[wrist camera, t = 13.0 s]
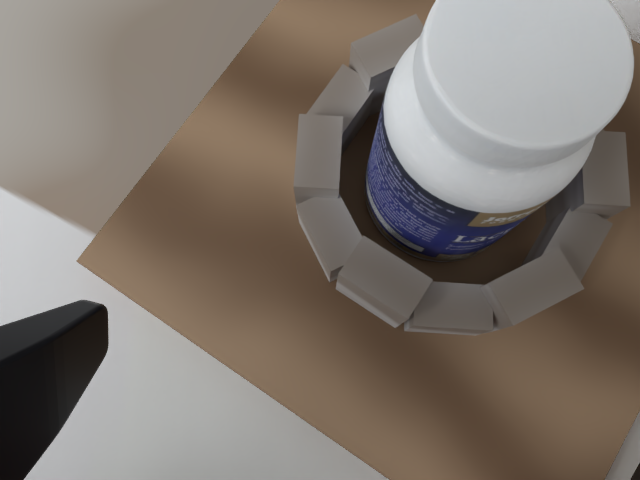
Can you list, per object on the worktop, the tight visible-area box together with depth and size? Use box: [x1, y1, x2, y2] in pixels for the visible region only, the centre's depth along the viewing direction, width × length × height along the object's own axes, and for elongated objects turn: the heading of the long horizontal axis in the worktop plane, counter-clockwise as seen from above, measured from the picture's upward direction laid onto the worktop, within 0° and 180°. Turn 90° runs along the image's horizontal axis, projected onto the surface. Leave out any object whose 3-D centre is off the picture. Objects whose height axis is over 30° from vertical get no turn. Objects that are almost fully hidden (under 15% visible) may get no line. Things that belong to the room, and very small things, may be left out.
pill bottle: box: [364, 0, 634, 262], centre depth 17 cm, size 6×6×10 cm
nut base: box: [77, 0, 640, 480], centre depth 21 cm, size 20×20×4 cm
